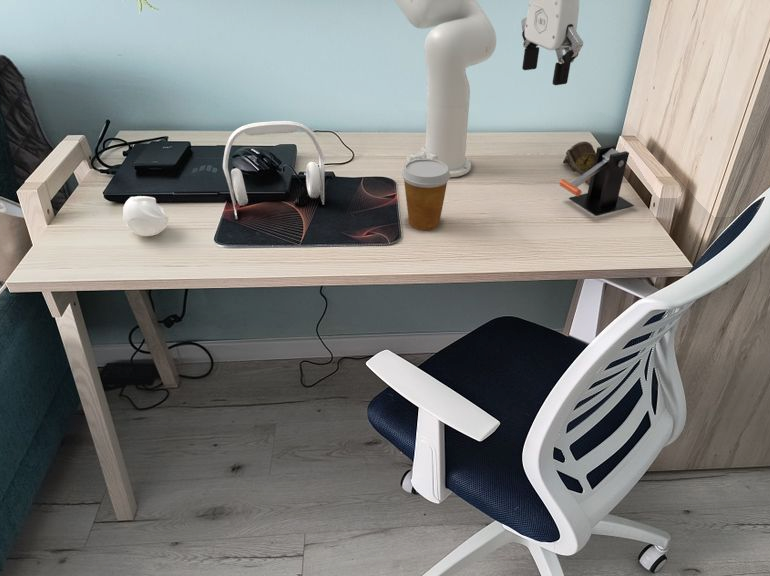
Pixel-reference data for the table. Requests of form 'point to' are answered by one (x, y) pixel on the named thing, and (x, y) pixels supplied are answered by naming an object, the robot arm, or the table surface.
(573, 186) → the lever
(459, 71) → the robot arm
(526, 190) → the table surface
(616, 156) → the stand
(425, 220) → the disposable coffee cup
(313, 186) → the headset
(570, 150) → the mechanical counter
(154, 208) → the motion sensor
